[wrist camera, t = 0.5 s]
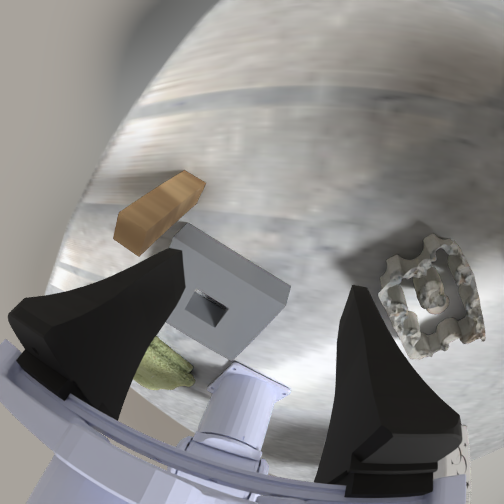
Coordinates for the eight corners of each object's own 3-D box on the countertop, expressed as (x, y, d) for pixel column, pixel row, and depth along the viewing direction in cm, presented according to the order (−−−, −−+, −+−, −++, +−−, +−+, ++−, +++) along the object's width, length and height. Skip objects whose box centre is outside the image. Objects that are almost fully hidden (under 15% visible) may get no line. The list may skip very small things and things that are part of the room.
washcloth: (159, 385, 42) (150, 399, 40) (78, 312, 38) (66, 325, 36) (205, 371, 35) (196, 390, 33) (103, 277, 31) (87, 293, 29)
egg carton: (476, 311, 20) (488, 343, 17) (409, 341, 24) (414, 375, 21) (451, 219, 17) (471, 247, 14) (368, 261, 21) (372, 295, 18)
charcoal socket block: (239, 343, 30) (231, 361, 28) (158, 294, 29) (146, 309, 27) (290, 286, 24) (285, 305, 22) (187, 222, 23) (173, 236, 21)
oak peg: (196, 203, 22) (139, 256, 16) (176, 191, 22) (113, 238, 16) (206, 183, 21) (146, 231, 15) (184, 170, 21) (118, 212, 14)
